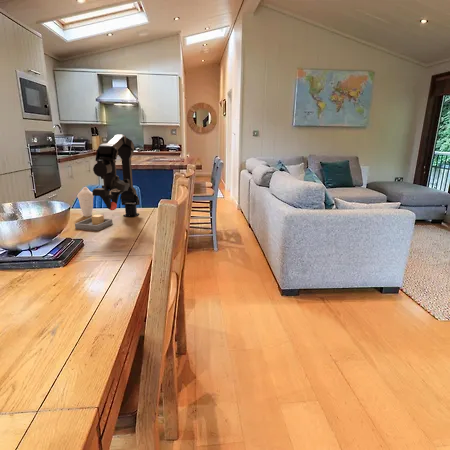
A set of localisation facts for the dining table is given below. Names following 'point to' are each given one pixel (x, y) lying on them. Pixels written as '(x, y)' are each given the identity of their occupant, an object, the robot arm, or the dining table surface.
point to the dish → (89, 226)
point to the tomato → (113, 206)
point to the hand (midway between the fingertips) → (112, 208)
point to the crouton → (97, 219)
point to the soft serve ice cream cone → (86, 201)
